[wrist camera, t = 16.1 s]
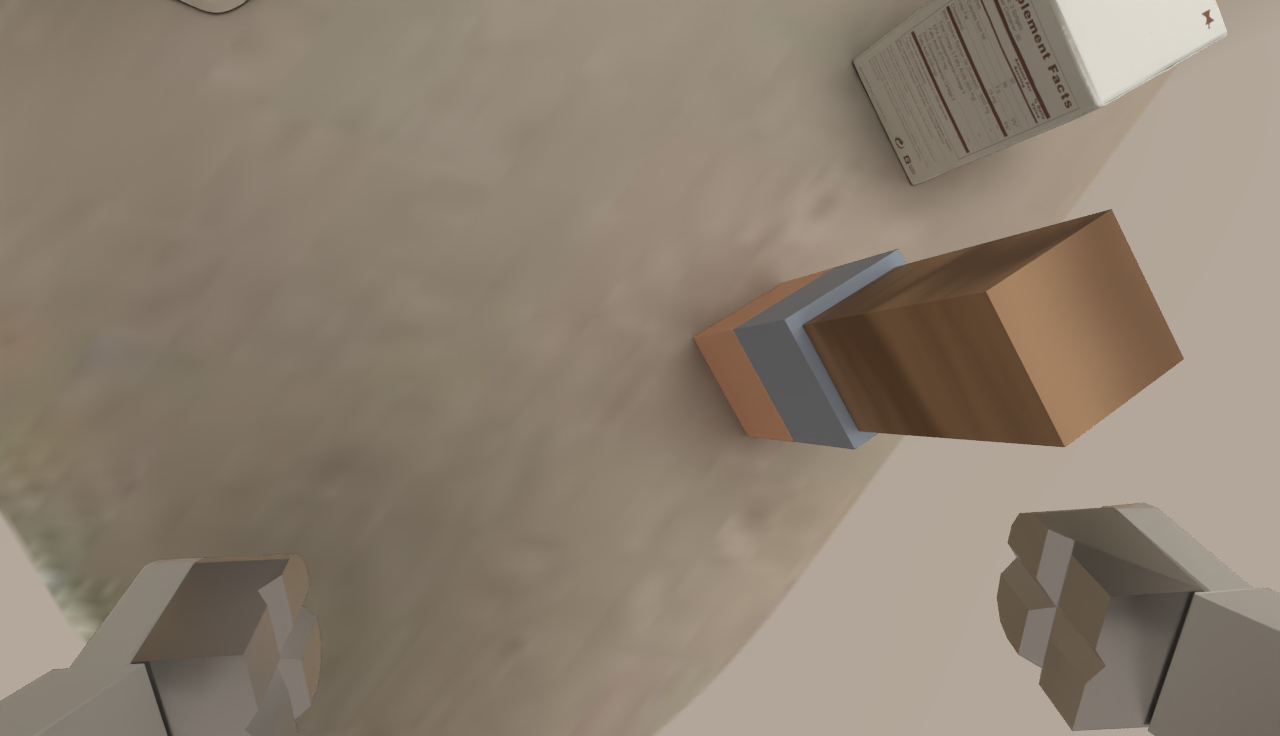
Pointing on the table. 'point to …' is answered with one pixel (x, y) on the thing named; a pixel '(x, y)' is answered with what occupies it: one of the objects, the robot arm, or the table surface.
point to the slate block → (808, 354)
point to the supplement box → (1018, 69)
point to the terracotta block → (746, 365)
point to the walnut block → (1000, 338)
